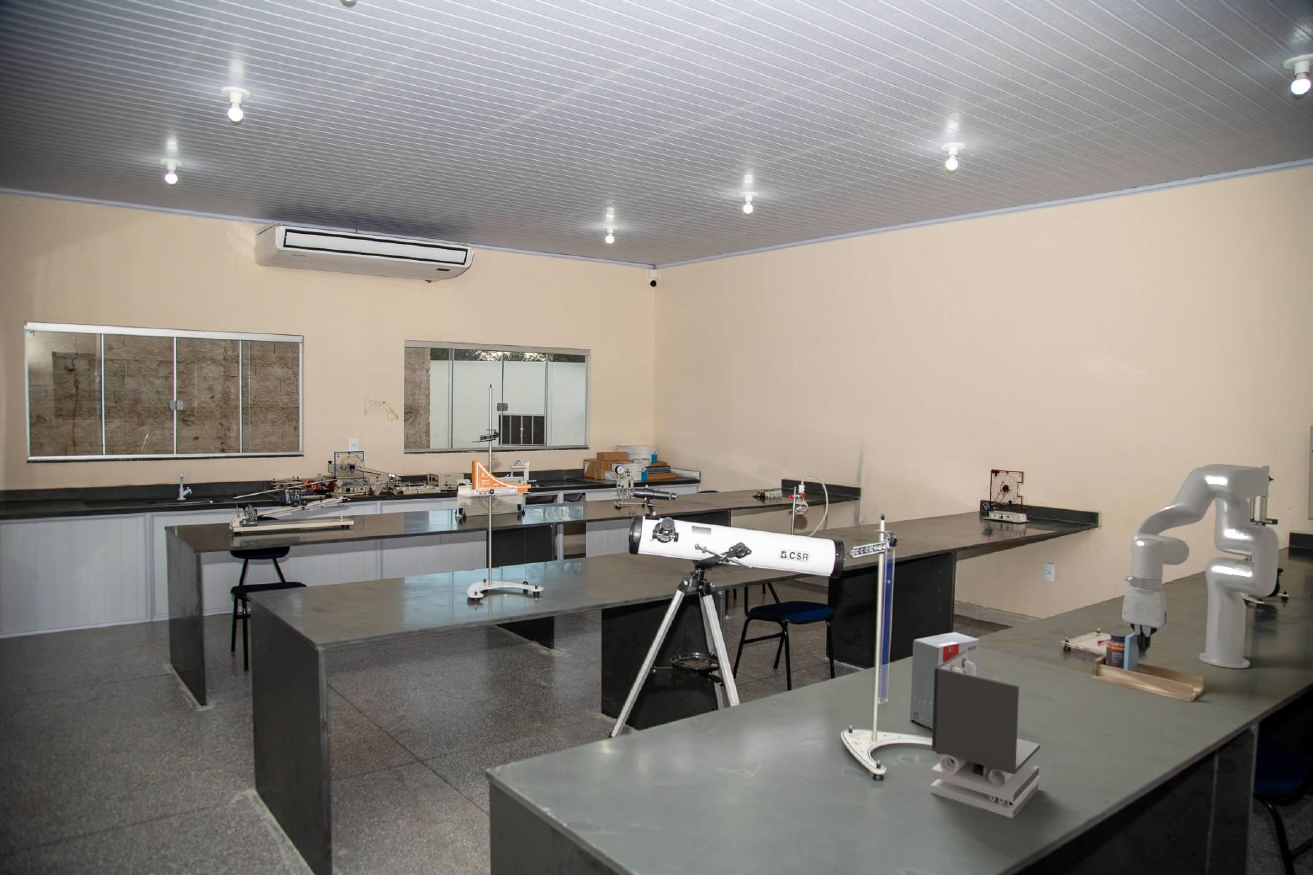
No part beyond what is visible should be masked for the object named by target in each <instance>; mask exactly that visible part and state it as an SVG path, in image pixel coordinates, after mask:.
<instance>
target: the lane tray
mask: <svg viewBox="0 0 1313 875" xmlns="http://www.w3.org/2000/svg"><path fill="white" fill-rule="evenodd" d="M1091 673H1092V680H1093V679H1094V680H1097V681H1101V682H1106V683H1110V684H1114V685H1118V686H1121V687H1126V688H1131V689H1135V690H1138V691H1143V692H1147V693H1151V694H1155V695H1159V696H1163V697H1168V698H1170V699H1171V698H1172V699H1177V700H1181V701H1185V702H1188V701H1189V702H1188V703H1191V702H1192V701H1193V700H1195V699H1196V698H1197V697H1199V696H1200V695H1201V693H1204V691H1205V686H1204V679H1205V678H1204V676H1202V675H1196V674H1194V673H1189V672H1188V673H1187V672H1183V671H1178V670H1174V669H1170V668H1165V667H1161V666H1156V665H1151V664H1148V663H1147V664H1146V663H1142V662H1139V661H1138V666H1137V672H1133V671H1129V670H1124V669H1120V668H1115V667H1111V666H1107V665H1106V653H1105V654H1103V655H1101V656H1100V657H1097V658H1095V659H1094V660H1093V661H1092V672H1091ZM1190 701H1191V702H1190Z"/></svg>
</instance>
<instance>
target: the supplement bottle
mask: <svg viewBox="0 0 1313 875" xmlns="http://www.w3.org/2000/svg"><path fill="white" fill-rule="evenodd" d="M1126 636H1128V635H1127V634H1125V633H1123V632H1117V631H1116V632H1115V631H1114V632H1111V633H1110V639H1108V640H1107V641H1106V648H1105V650H1106V651H1105V652H1106V653H1105V654H1106V665H1107V666H1111V667H1115V668H1120V669H1124V651H1125V637H1126Z"/></svg>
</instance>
